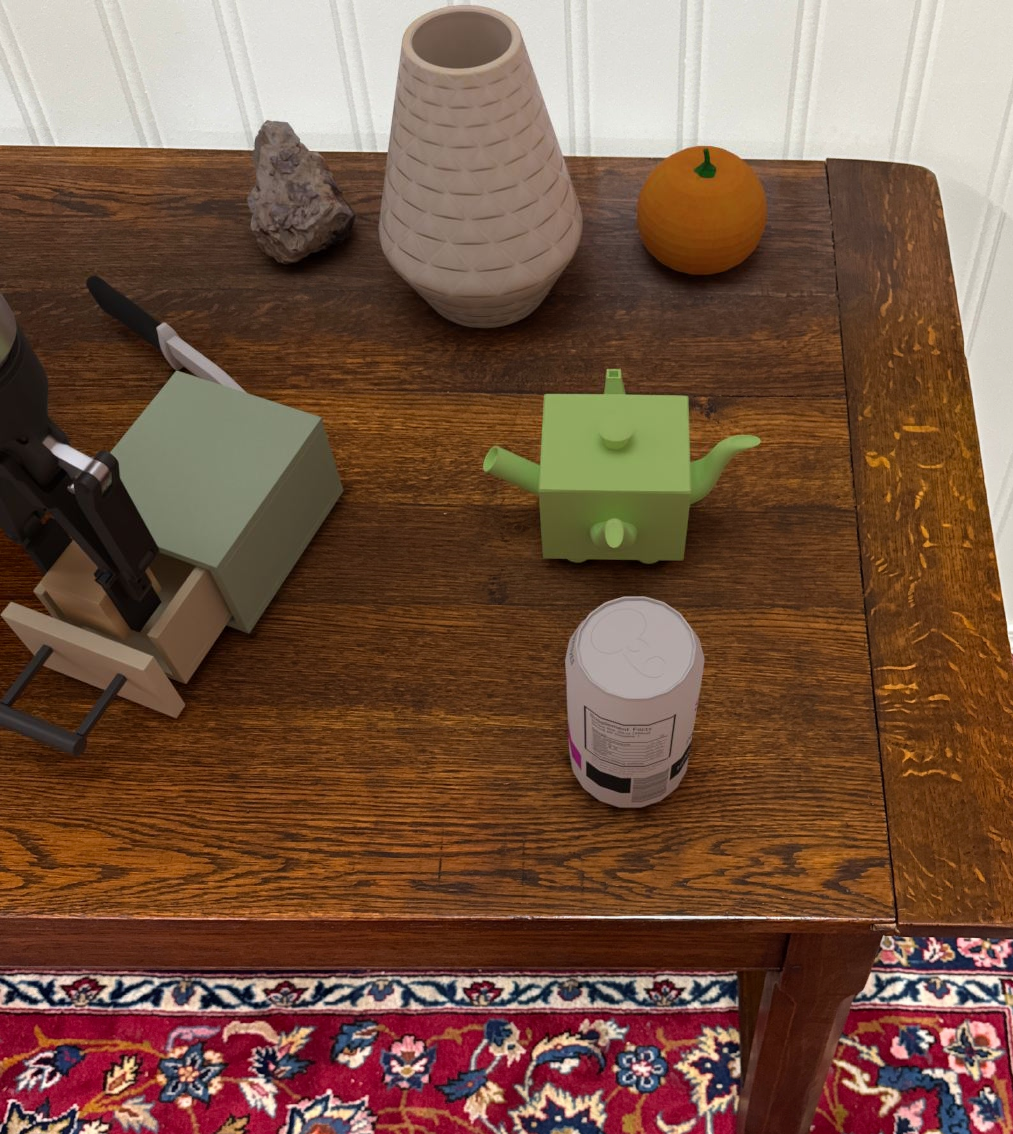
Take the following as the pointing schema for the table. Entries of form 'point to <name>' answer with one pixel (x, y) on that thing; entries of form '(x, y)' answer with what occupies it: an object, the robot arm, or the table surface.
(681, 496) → the kettle
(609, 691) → the supplement can
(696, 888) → the table surface
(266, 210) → the rock
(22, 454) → the robot arm
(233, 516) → the cabinet
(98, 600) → the block
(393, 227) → the vase
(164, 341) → the knife
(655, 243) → the fruit
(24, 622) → the drawer
